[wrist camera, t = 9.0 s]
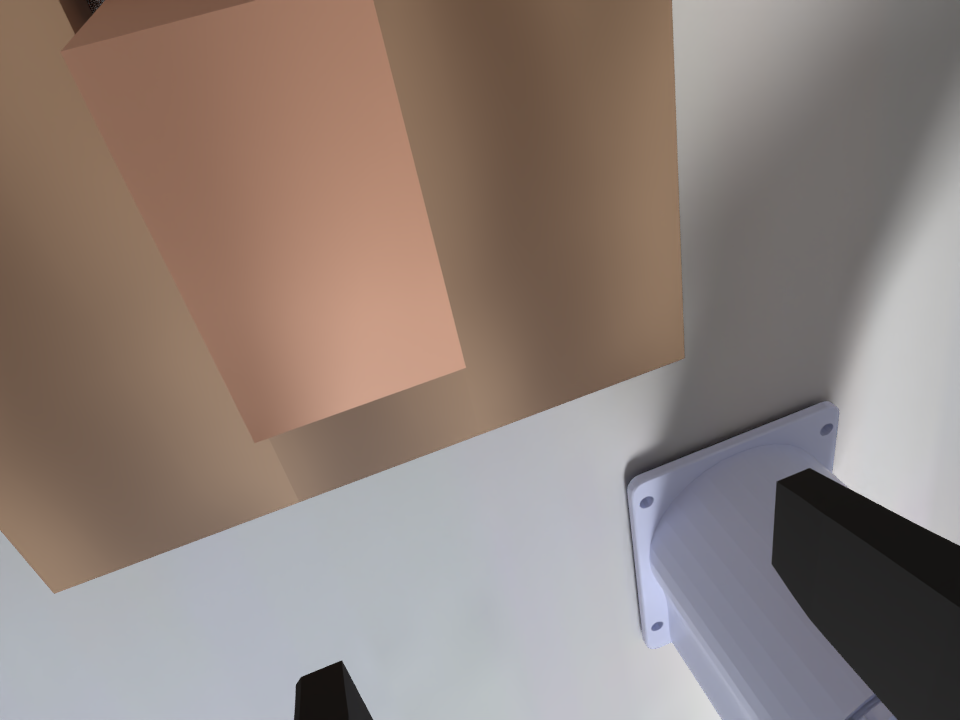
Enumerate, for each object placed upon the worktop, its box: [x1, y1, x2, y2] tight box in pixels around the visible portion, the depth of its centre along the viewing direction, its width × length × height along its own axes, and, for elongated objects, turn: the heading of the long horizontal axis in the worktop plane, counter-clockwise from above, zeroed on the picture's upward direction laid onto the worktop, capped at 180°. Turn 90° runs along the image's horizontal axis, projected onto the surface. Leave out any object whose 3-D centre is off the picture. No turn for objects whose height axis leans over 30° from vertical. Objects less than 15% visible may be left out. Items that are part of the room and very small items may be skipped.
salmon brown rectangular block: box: [60, 0, 466, 443], centre depth 12 cm, size 3×5×8 cm, turn 11°
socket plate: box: [0, 0, 685, 594], centre depth 14 cm, size 16×16×2 cm
